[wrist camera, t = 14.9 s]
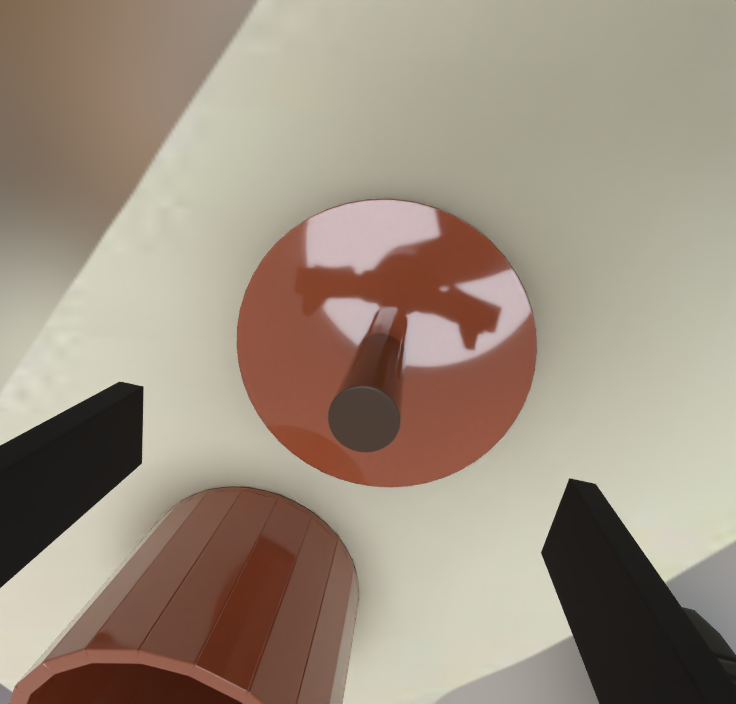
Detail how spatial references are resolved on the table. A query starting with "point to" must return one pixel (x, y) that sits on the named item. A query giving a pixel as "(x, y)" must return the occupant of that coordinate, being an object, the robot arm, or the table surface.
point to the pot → (212, 613)
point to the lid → (386, 343)
